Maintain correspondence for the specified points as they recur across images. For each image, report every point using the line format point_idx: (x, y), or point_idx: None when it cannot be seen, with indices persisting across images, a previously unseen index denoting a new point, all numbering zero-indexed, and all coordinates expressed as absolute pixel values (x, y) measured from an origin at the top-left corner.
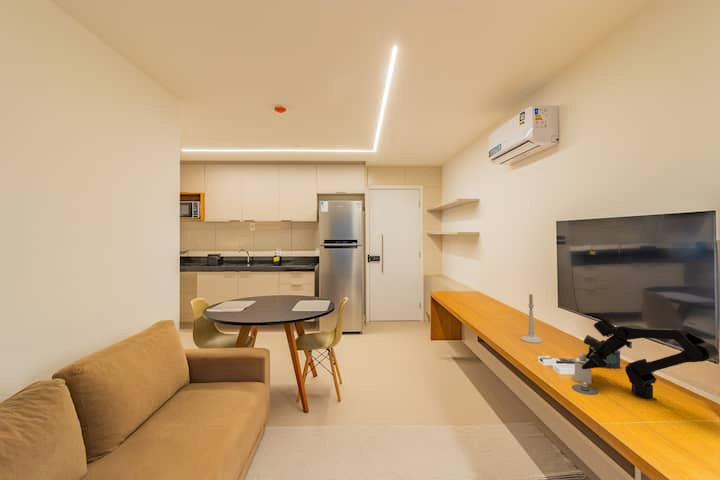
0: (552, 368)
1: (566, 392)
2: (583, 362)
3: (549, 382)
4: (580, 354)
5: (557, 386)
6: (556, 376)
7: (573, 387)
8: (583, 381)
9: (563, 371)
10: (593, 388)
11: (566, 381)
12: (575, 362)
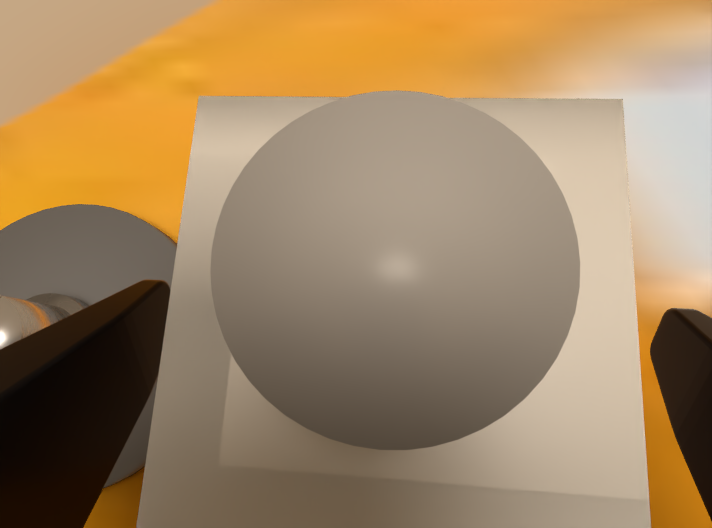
0: (682, 15)
1: (6, 168)
2: (186, 313)
3: (206, 16)
4: (268, 149)
5: (129, 88)
6: (420, 67)
7: (77, 224)
8: (5, 320)
9: (648, 132)
10: (129, 449)
11: None
12: (204, 129)
